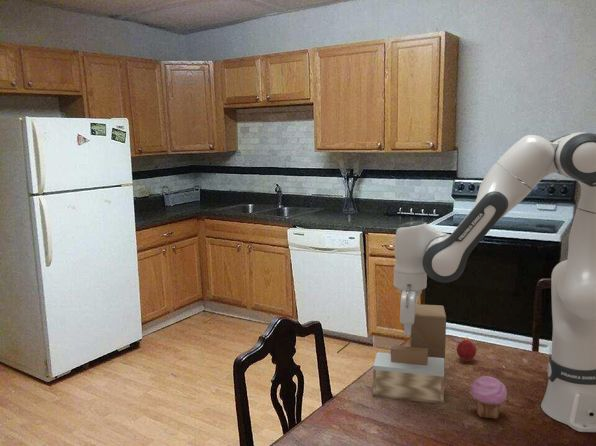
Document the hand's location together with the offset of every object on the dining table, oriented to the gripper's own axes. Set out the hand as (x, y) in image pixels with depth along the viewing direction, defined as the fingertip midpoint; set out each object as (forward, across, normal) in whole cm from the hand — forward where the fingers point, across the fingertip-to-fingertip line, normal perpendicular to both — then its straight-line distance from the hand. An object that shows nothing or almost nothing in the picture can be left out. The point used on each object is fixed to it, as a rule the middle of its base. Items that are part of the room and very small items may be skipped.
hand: (408, 328), depth 141 cm
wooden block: (+19, +14, -5) cm, 24 cm away
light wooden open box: (+19, 0, -1) cm, 19 cm away
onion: (+19, +24, -17) cm, 35 cm away
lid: (+11, 0, 0) cm, 11 cm away
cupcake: (+19, -7, -21) cm, 29 cm away
